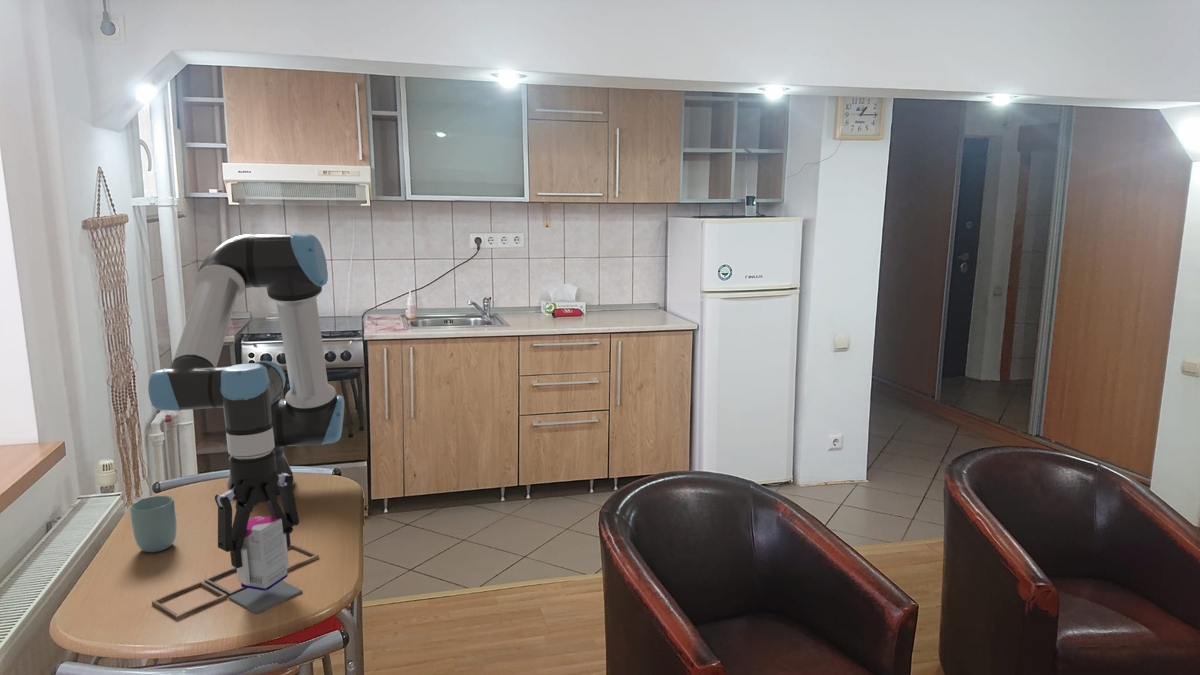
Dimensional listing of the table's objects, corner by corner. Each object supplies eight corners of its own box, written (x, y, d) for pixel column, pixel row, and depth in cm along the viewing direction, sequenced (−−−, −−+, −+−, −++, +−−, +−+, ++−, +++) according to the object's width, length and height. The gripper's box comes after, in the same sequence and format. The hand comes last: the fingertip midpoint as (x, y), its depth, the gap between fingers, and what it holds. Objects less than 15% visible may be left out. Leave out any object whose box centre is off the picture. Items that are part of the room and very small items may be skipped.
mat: (274, 578, 149) (274, 576, 149) (302, 592, 144) (302, 590, 144) (229, 598, 142) (228, 596, 142) (256, 613, 137) (256, 611, 137)
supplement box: (289, 576, 144) (282, 517, 142) (266, 592, 139) (259, 531, 136) (263, 571, 146) (256, 514, 144) (239, 587, 141) (232, 527, 138)
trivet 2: (292, 546, 162) (292, 543, 162) (318, 557, 157) (318, 554, 157) (251, 563, 155) (251, 560, 155) (277, 575, 150) (277, 572, 150)
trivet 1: (201, 583, 147) (201, 580, 147) (227, 597, 142) (227, 594, 142) (152, 604, 140) (151, 601, 140) (177, 619, 135) (176, 616, 135)
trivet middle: (249, 564, 155) (249, 561, 155) (275, 576, 150) (275, 573, 150) (204, 582, 148) (204, 579, 148) (230, 596, 143) (229, 593, 142)
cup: (160, 558, 158) (154, 511, 156) (126, 555, 159) (120, 508, 158) (187, 541, 165) (182, 496, 163) (155, 538, 167) (149, 494, 165)
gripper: (290, 434, 148) (300, 548, 152) (184, 464, 132) (198, 590, 136) (314, 441, 143) (323, 558, 148) (207, 473, 128) (221, 603, 132)
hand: (263, 573), depth 142 cm, fingers closed on supplement box, 7 cm apart
